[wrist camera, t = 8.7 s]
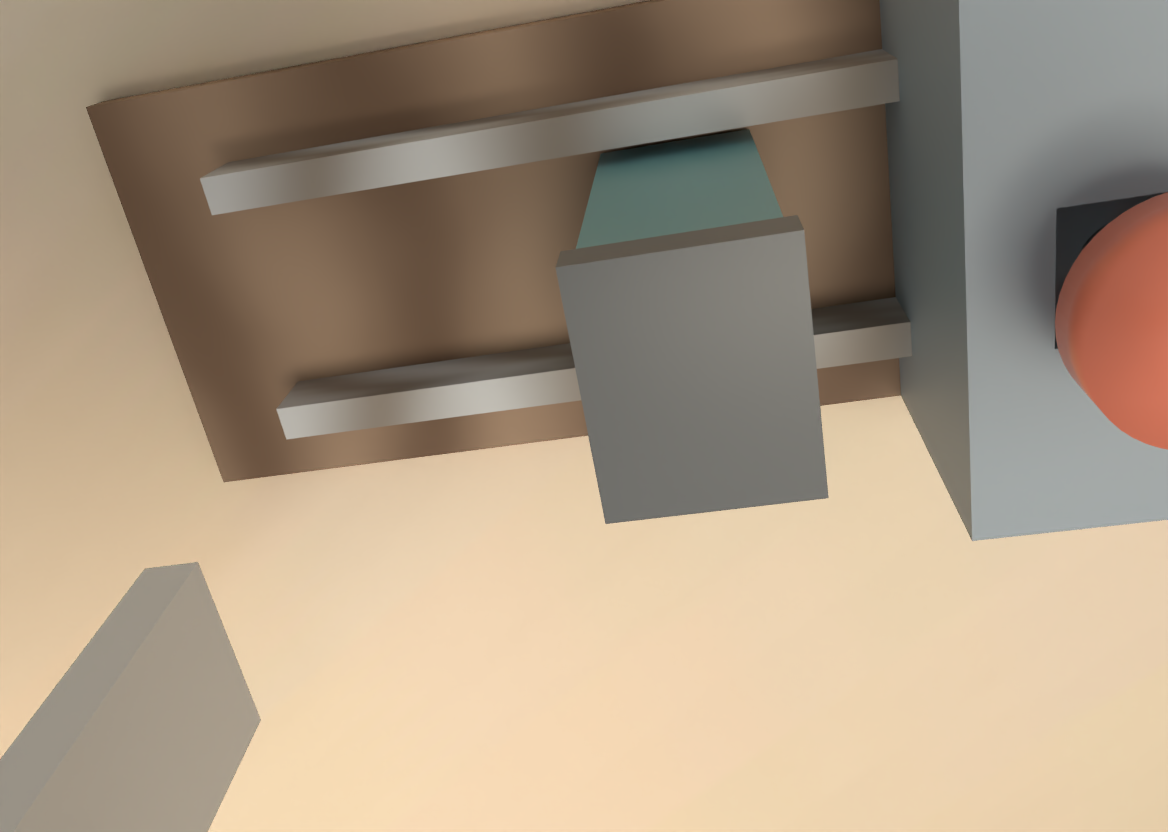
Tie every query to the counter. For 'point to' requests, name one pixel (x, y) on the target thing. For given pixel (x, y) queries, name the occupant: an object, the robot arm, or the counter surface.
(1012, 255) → the cabinet
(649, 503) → the carriage
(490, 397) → the rail track
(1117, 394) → the button
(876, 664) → the counter surface
